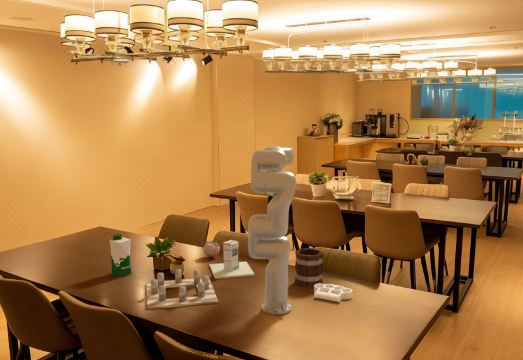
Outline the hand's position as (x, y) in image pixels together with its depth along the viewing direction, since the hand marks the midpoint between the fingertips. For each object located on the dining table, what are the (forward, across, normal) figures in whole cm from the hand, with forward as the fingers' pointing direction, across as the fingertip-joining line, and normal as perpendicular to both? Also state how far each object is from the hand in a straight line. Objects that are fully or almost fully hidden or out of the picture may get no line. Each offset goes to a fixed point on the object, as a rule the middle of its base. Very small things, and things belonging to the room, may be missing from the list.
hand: (273, 207), depth 239 cm
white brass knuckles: (+37, -26, -20) cm, 50 cm away
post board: (+36, -8, +46) cm, 59 cm away
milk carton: (+36, +25, +73) cm, 85 cm away
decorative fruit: (+36, +41, +25) cm, 60 cm away
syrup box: (+36, +17, +18) cm, 43 cm away
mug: (+36, -5, -17) cm, 41 cm away
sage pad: (+36, +17, +18) cm, 44 cm away
